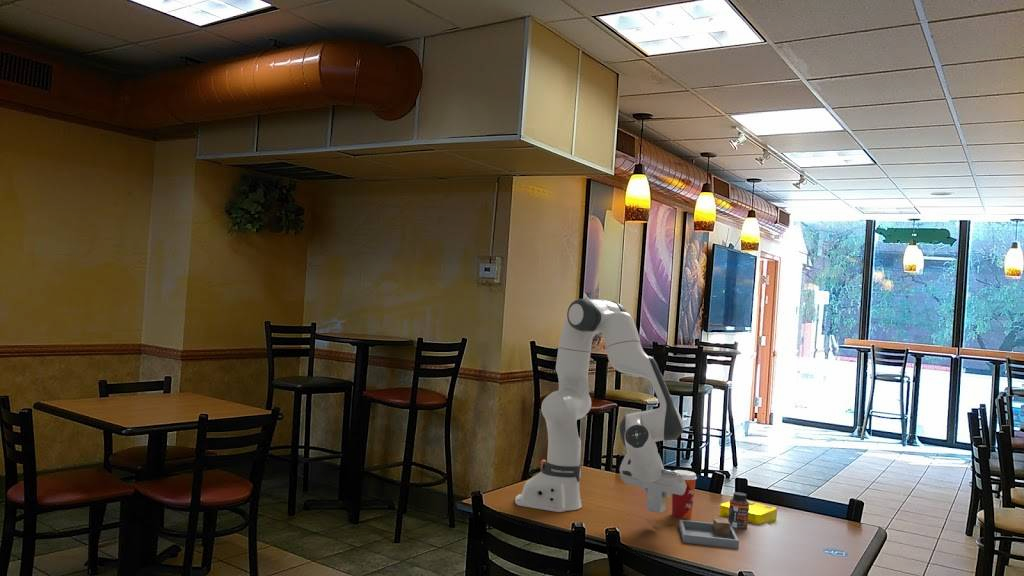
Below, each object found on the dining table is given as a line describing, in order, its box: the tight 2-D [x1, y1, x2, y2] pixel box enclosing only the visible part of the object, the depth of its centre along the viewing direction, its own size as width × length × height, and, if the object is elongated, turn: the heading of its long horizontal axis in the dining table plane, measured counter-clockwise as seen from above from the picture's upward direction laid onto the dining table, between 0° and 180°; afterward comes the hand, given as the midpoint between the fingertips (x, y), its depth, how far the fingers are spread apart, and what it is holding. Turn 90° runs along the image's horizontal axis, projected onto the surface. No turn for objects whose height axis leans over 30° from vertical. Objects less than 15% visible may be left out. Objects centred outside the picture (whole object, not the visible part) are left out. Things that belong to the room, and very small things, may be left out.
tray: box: [678, 519, 740, 549], centre depth 222 cm, size 16×16×3 cm
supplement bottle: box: [727, 491, 749, 531], centre depth 236 cm, size 6×6×11 cm
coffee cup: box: [671, 469, 698, 520], centre depth 244 cm, size 8×8×15 cm
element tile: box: [718, 499, 778, 525], centre depth 250 cm, size 15×15×5 cm
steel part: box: [646, 488, 667, 514], centre depth 232 cm, size 4×4×10 cm
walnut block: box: [712, 518, 731, 537], centre depth 226 cm, size 4×4×4 cm
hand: (657, 493), depth 232 cm, fingers closed on steel part, 4 cm apart
